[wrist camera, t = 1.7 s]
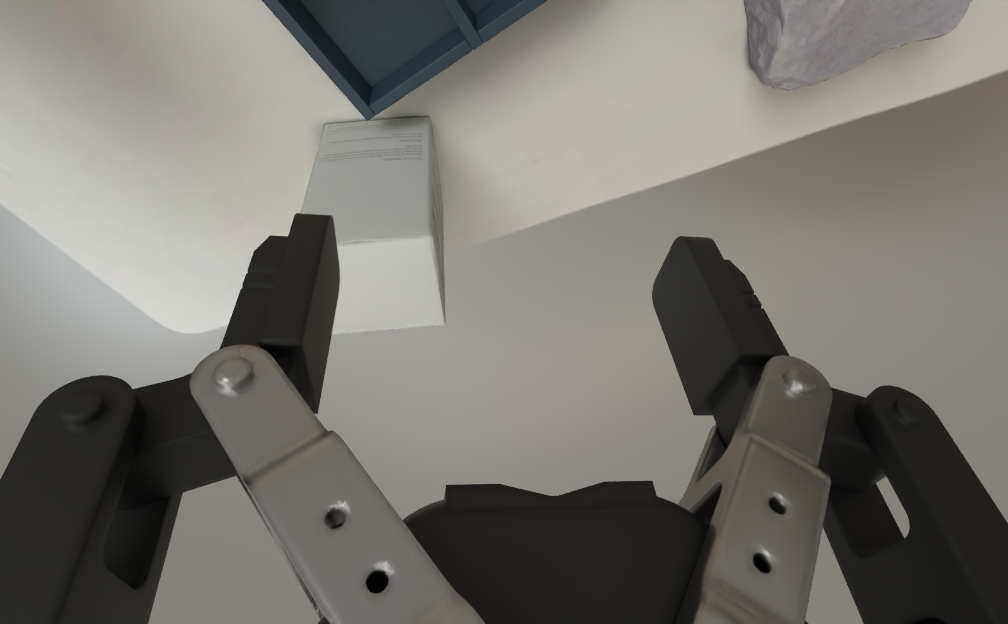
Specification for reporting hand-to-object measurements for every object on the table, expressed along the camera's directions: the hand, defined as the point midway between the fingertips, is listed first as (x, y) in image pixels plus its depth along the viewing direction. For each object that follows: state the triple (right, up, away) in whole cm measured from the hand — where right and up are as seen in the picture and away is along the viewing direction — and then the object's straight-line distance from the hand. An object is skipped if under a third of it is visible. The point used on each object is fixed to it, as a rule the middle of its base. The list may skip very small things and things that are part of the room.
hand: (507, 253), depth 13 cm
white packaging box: (-8, +9, +26) cm, 28 cm away
